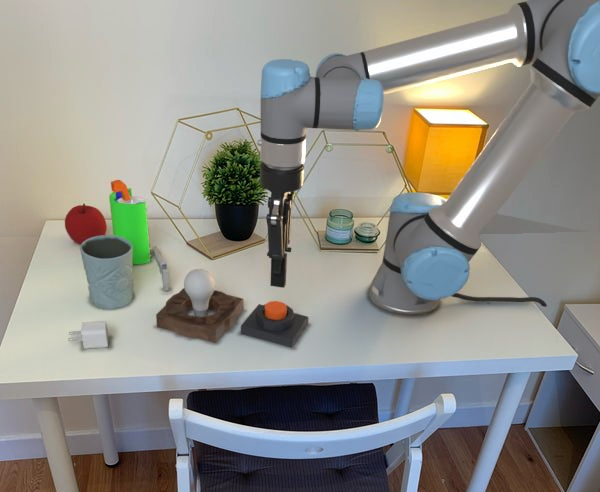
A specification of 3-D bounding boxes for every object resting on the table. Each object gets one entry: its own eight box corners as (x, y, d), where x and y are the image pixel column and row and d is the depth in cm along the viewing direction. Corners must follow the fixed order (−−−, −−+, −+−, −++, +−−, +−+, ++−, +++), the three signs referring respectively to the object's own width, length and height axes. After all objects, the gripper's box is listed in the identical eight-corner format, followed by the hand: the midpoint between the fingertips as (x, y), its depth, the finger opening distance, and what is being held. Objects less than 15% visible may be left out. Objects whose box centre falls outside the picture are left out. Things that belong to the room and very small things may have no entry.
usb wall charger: (108, 348, 125) (105, 331, 122) (69, 351, 123) (66, 333, 121) (108, 336, 128) (105, 319, 125) (71, 339, 126) (67, 321, 124)
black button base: (307, 324, 135) (309, 308, 133) (292, 347, 129) (293, 330, 126) (258, 312, 138) (259, 295, 135) (240, 334, 131) (240, 317, 129)
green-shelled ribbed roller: (160, 257, 153) (154, 182, 141) (131, 268, 148) (122, 191, 137) (136, 243, 157) (128, 169, 146) (107, 253, 153) (97, 177, 141)
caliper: (169, 292, 140) (166, 264, 137) (165, 292, 140) (162, 264, 137) (158, 264, 157) (155, 239, 155) (153, 264, 157) (151, 239, 154)
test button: (289, 311, 132) (290, 304, 131) (281, 322, 129) (282, 314, 128) (269, 306, 133) (269, 298, 132) (260, 317, 130) (261, 309, 129)
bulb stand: (246, 310, 138) (247, 298, 136) (217, 345, 128) (216, 332, 126) (186, 294, 141) (186, 282, 139) (153, 327, 131) (152, 315, 129)
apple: (111, 234, 160) (106, 194, 154) (105, 251, 154) (99, 211, 147) (72, 232, 160) (65, 193, 153) (64, 250, 153) (56, 209, 146)
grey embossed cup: (92, 285, 142) (84, 233, 134) (140, 286, 143) (135, 235, 135) (84, 311, 134) (75, 257, 126) (135, 311, 135) (128, 258, 127)
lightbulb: (221, 315, 136) (220, 268, 129) (206, 330, 131) (204, 281, 124) (196, 307, 137) (193, 260, 130) (180, 321, 133) (176, 273, 126)
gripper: (268, 147, 117) (266, 266, 132) (251, 174, 107) (251, 299, 122) (310, 152, 116) (303, 271, 131) (296, 179, 106) (290, 305, 121)
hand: (278, 284), depth 127 cm, fingers closed
